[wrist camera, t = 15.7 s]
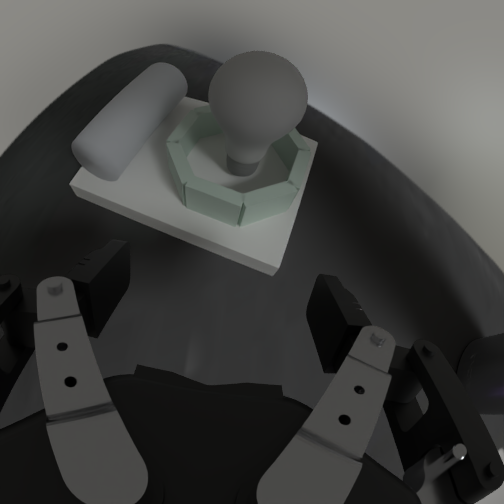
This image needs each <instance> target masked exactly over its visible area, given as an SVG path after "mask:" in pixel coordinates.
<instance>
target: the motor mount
mask: <svg viewBox="0 0 504 504" xmlns="http://www.w3.org/2000/svg"><path fill="white" fill-rule="evenodd" d="M186 93H187V81H186V79H185V77H184V75H183V74H182V73H181V71H180V70H178V69H177V68H176V67H174V66H173V65H171V64H168V63H155V64H153V65H151V66H150V67H148V68H147V69H146V70H145V71H143V72H142V73H141V74H140V75H139V76H137V77H136V78H135V79H134V80H133V81H132V82H131V83H129V84H128V85H127V86H126V87H125V88H124V89H123V90H122V91H121V92H120V93H118V94H117V95H116V96H115V97H114V98H113V99H112V100H111V101H110V102H109V103H108V104H107V105H106V106H105V107H104V108H103V109H102V110H101V111H100V112H99V113H98V114H97V115H96V116H95V117H94V118H93V119H92V121H91V122H90V123H89V124H88V125H87V126H86V127H85V128H84V129H83V130H82V132H81V133H80V134H79V135H78V136H77V137H76V139H75V140H74V141H73V142H72V145H71V148H72V152H73V154H74V156H75V158H76V159H77V161H78V162H79V163H80V164H81V165H82V167H81V168H80V170H79V171H78V172H77V174H76V175H75V177H74V178H73V179H72V181H71V182H70V186H71V188H72V189H73V191H74V192H75V194H76V195H77V196H78V197H80V198H83V199H85V200H87V201H90V202H92V203H94V204H97V205H99V206H102V207H104V208H106V209H109V210H111V211H113V212H116V213H118V214H121V215H123V216H125V217H128V218H130V219H132V220H135V221H137V222H140V223H142V224H144V225H147V226H149V227H152V228H154V229H157V230H159V231H161V232H164V233H166V234H169V235H171V236H174V237H176V238H178V239H181V240H183V241H186V242H188V243H191V244H193V245H196V246H198V247H201V248H203V249H206V250H208V251H211V252H213V253H215V254H218V255H220V256H223V257H225V258H228V259H230V260H233V261H236V262H238V263H241V264H243V265H246V266H248V267H251V268H253V269H256V270H258V271H261V272H263V273H266V274H268V275H271V276H273V275H274V274H275V272H276V271H277V270H278V269H279V267H280V264H281V261H282V258H283V255H284V252H285V249H286V246H287V242H288V239H289V236H290V233H291V230H292V227H293V224H294V221H295V217H296V214H297V211H298V208H299V205H300V201H301V198H302V195H303V192H304V188H305V185H306V182H307V178H308V175H309V172H310V168H311V165H312V162H313V158H314V155H315V152H316V148H317V145H318V142H316V141H314V140H311V139H309V138H307V137H304V136H302V135H300V134H299V132H298V131H297V130H296V128H294V129H293V130H292V131H291V132H289V133H288V134H286V135H285V136H283V137H281V138H280V139H278V140H276V141H274V142H273V143H272V144H271V145H270V146H269V148H268V149H267V152H266V154H265V156H264V157H263V158H262V159H261V160H260V162H259V165H258V167H257V169H256V171H255V172H254V173H253V174H252V175H250V176H246V177H240V176H236V175H234V174H232V173H231V172H230V171H229V170H228V168H227V165H226V163H227V161H226V158H227V152H226V150H225V136H224V133H223V130H222V129H221V128H220V126H219V125H218V123H217V121H216V120H215V118H214V116H213V114H212V112H211V109H210V105H209V103H207V102H203V101H199V100H196V99H192V98H188V97H185V95H186Z"/></svg>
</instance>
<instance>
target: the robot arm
mask: <svg viewBox="0 0 504 504" xmlns="http://www.w3.org/2000/svg"><path fill="white" fill-rule="evenodd" d="M129 282H130V244H129V242H125V241H120V240H114V239H112V240H111V241H109V242H108V243H107V244H106V245H105V246H104V247H103V248H102V249H101V248H99V249H97V250H95V251H92V252H90V253H89V254H88V255H87V256H86V257H85V258H84V260H83V259H82V260H81V261H80V262H79V264H77V265H76V266H75V267H74V268H73V269H72V270H71V271H70V272H69V273H68V274H67V275H66V276H65V277H59V276H57V277H50V278H47V279H45V280H43V281H42V282H41V283H40V284H39V285H38V286H37V289H23V288H22V287H21V283H20V279H19V277H18V276H16V275H13V274H5V275H1V276H0V324H1V327H2V329H3V332H4V336H3V337H2V338H1V340H0V412H1V410H2V408H3V406H4V404H5V402H6V400H7V398H8V396H9V394H10V392H11V390H12V388H13V386H14V384H15V383H16V381H17V379H18V377H19V375H20V374H21V372H22V370H23V368H24V367H25V365H26V363H27V362H28V360H29V358H30V357H31V355H32V353H33V352H34V350H35V349H36V358H37V366H38V373H39V379H40V385H41V391H42V396H43V401H44V406H45V408H44V409H42V410H40V411H38V412H36V413H34V414H32V415H30V416H28V417H26V418H24V419H22V420H20V421H17V422H15V423H13V424H11V425H9V426H7V427H4V428H2V429H0V504H474V503H476V502H478V501H479V500H481V499H483V498H484V497H486V496H487V495H489V494H490V493H492V492H493V491H495V490H496V489H498V488H499V487H500V486H501V485H502V483H503V481H504V464H503V462H502V460H501V457H500V455H499V453H498V451H497V448H496V446H495V444H494V442H493V440H492V438H491V436H490V434H489V432H488V430H487V428H486V426H485V424H484V422H483V420H482V418H481V416H480V415H479V414H487V415H504V333H502V334H497V335H493V336H489V337H485V338H480V339H476V340H474V341H472V342H471V343H470V344H469V345H468V346H467V347H466V349H465V351H464V353H463V355H462V357H461V360H460V363H459V366H458V370H457V375H456V373H455V372H454V370H453V369H452V367H451V366H450V364H449V362H448V361H447V359H446V358H445V356H444V355H443V353H442V352H441V350H440V349H439V348H438V347H437V346H436V345H435V344H433V343H432V342H430V341H427V340H423V339H419V340H416V341H415V342H414V344H413V345H412V347H411V349H408V348H404V347H400V346H396V343H395V340H394V338H393V337H392V335H391V334H390V333H388V332H387V331H386V330H384V329H382V328H380V327H376V326H372V324H371V323H370V321H369V319H368V318H367V316H366V314H365V313H364V311H363V310H362V308H361V306H360V305H359V304H358V301H357V300H356V298H355V297H354V295H353V294H351V293H350V292H349V291H348V290H347V289H344V287H343V286H342V284H341V282H340V281H339V279H338V278H337V277H336V276H330V275H324V274H319V275H318V277H317V279H316V282H315V285H314V288H313V291H312V294H311V297H310V299H309V302H308V305H307V311H306V317H307V321H308V324H309V327H310V330H311V333H312V336H313V339H314V343H315V346H316V349H317V352H318V355H319V358H320V362H321V365H322V368H323V371H324V373H336V375H335V377H334V379H333V380H332V382H331V384H330V385H329V387H328V388H327V390H326V392H325V393H324V395H323V396H322V398H321V399H320V401H319V402H318V404H317V405H316V407H315V408H314V410H313V409H311V408H310V407H308V406H307V405H305V404H303V403H301V402H299V401H297V400H294V399H292V398H289V397H285V396H283V392H282V385H268V384H255V383H238V384H227V385H205V384H202V383H199V382H197V381H194V380H191V379H189V378H186V377H184V376H181V375H178V374H176V373H173V372H170V371H165V370H160V369H155V368H151V367H146V366H142V365H138V364H137V367H136V370H135V373H134V374H127V375H117V376H112V377H108V378H105V379H103V378H102V376H101V373H100V371H99V368H98V365H97V362H96V360H95V357H94V354H93V351H92V348H91V345H90V342H89V338H88V336H90V337H94V338H98V336H99V335H100V333H101V331H102V329H103V328H104V326H105V324H106V323H107V321H108V319H109V318H110V316H111V314H112V313H113V311H114V310H115V308H116V306H117V305H118V303H119V302H120V300H121V298H122V297H123V295H124V294H125V292H126V291H127V289H128V286H129ZM422 388H423V390H424V392H425V394H426V396H427V398H428V401H429V406H428V410H427V411H426V413H425V414H424V415H423V413H422V411H421V408H420V406H419V404H418V402H417V400H416V397H415V396H416V395H417V394H418V393H419V391H420V390H421V389H422ZM382 406H383V408H384V411H385V413H386V416H387V419H388V422H389V425H390V428H391V431H392V434H393V437H394V440H395V443H396V446H397V449H398V452H399V456H400V459H401V462H402V465H403V469H404V472H405V473H404V476H403V481H402V480H400V479H399V478H398V477H396V476H395V475H394V474H392V473H391V472H389V471H388V470H387V469H385V468H384V467H383V466H381V465H380V464H379V463H377V462H376V461H375V460H374V459H372V458H371V457H370V456H368V455H367V454H366V453H365V449H366V447H367V445H368V442H369V440H370V438H371V435H372V433H373V430H374V428H375V425H376V422H377V420H378V417H379V414H380V411H381V409H382Z"/></svg>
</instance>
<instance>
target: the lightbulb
mask: <svg viewBox="0 0 504 504" xmlns="http://www.w3.org/2000/svg"><path fill="white" fill-rule="evenodd" d="M208 100H209V105H210V109H211V112H212V114H213V116H214V118H215V120H216V121H217V123H218V125H219V126H220V128H221V129H222V130H223V133H224V136H225V150H226V152H227V158H226V161H227V163H226V165H227V168H228V170H229V171H230V172H231V173H232V174H234V175H236V176H240V177H246V176H250V175H252V174H253V173H254V172H255V171H256V169H257V167H258V165H259V162H260V160H261V159H262V158H263V157H264V156H265V154H266V152H267V149H268V148H269V146H270V145H271V144H272V143H273V142H274V141H276V140H278V139H280V138H281V137H283V136H285V135H286V134H288V133H289V132H291V131H292V130H293V129H294V128H295V127H296V126H297V125H298V123H299V122H300V121H301V120H302V117H303V115H304V113H305V111H306V108H307V100H308V95H307V87H306V84H305V82H304V79H303V77H302V75H301V74H300V72H299V70H298V69H297V68H296V67H295V66H294V65H293V64H292V63H291V62H289V61H288V60H286V59H285V58H283V57H281V56H279V55H276V54H274V53H270V52H264V51H251V52H246V53H242V54H239V55H236V56H234V57H233V58H231V59H229V60H228V61H226V62H225V63H224V64H223V65H222V66H221V67H220V68H219V69H218V70H217V72H216V73H215V75H214V77H213V78H212V81H211V83H210V87H209V94H208Z"/></svg>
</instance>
